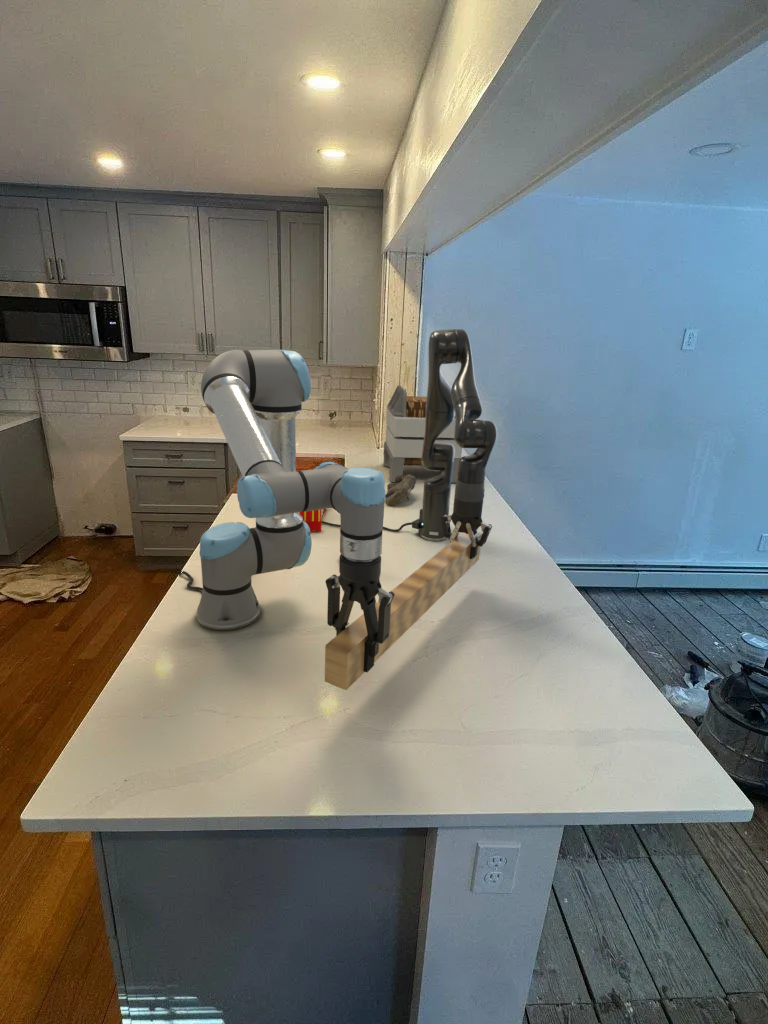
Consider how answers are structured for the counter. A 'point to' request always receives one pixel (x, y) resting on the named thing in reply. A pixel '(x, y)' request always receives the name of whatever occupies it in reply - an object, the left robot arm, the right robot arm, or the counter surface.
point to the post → (399, 610)
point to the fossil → (399, 489)
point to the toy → (313, 518)
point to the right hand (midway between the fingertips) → (462, 555)
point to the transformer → (411, 434)
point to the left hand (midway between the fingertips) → (356, 663)
